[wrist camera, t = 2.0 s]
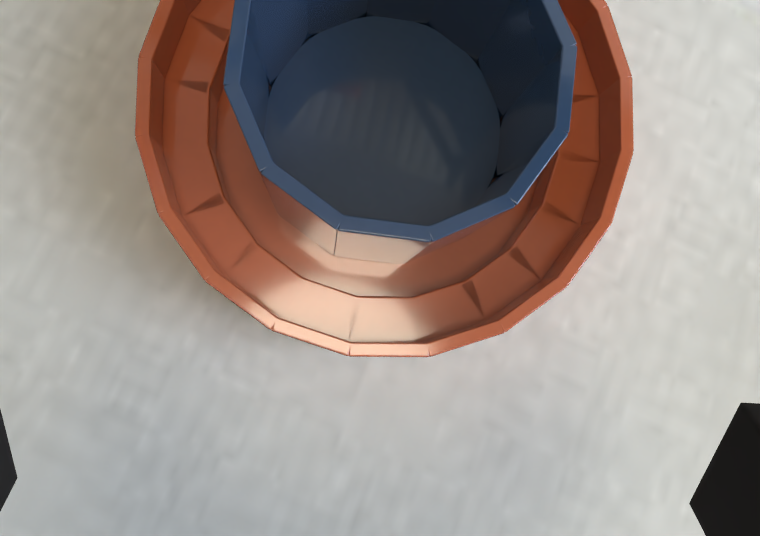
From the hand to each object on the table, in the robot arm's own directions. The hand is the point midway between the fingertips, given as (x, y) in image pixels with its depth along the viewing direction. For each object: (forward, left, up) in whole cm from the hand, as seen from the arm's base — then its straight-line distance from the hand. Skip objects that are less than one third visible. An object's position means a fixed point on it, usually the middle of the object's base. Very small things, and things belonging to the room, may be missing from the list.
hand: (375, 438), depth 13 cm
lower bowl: (-5, +9, -16) cm, 19 cm away
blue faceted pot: (-5, +9, -16) cm, 18 cm away
